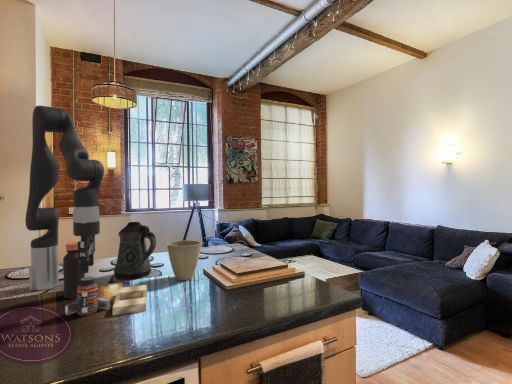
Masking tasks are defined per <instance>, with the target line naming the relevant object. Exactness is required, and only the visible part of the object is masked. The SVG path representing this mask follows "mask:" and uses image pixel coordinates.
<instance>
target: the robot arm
mask: <svg viewBox="0 0 512 384" xmlns="http://www.w3.org/2000/svg"><path fill="white" fill-rule="evenodd" d="M31 122H32V127H31V128H32V129H31V130H32V149H31V161H30V169H29V170H30V171H29V190H28V191H29V192H28V193H29V194H28V198H27V199H28V200H27V206H26V211H25V212H26V213H25V221H24V222H25V226H26V227H25V228H26V229H27V230H28V231H30V232H31V231H34V232H35V231H44V230H47V231H46V233H44V234H43V235H41V236H38V237H36V238H34V239H32V240H31V241H30V266H29V267H28V273H29V274H28V278H29V283H28V287H29V291H45V290H50V289H53V288H57V287H58V286H59V283H60V278H59V222H60V221H59V217H60V215H59V211H58V209H57V208H56V207H51V206H50V207H49V206H48V207H40V204H42V203H41V202H42V201H43V200H44V198H45V197H46V195H48V194H49V193H50V192H51V191H52V189H53V188H54V187H55V186H56V185H57V184H58V182H59V176H60V163H59V161H58V159H57V157H56V156H55V155H54V153H53V152H52V150H51V149H50V147H49V145H48V143H47V140H46V133H59V134H62V135H61V137H60V139H59V141H58V149H59V151H60V153H61V154H62V156H63V158H64V160H65V164H66V165H65V166H66V174H67V176H68V177H69V178H70V179H71V180H73V181H77V182H79V181H80V182H81V181H82V182H83V181H84V182H88V183H87V185H86V186H85V187H81V188H76V189H75V190H74V191H73V211H72V227H73V228H72V229H73V230H72V234H73V236H75V237H80V241H79V240H78V243H77V242H76V243H77V244H78V259H77V260H78V261H79V262H80V273H84V274H88V273H89V271H90V270H89V268H90V267H93V266H94V263H95V262H94V261H95V259H94V258H95V257H94V255H95V251H96V243H95V242H96V238H95V237H96V235H99V234H100V232H101V229H100V228H101V227H100V225H101V223H100V207H99V205H100V204H99V202H100V201H99V194H100V189H101V184H102V183H103V182H102V181H103V178H104V174H105V167H104V165H103V163H102V162H101V161H100V160H97V159H89V157H90V155H89V153H88V151H87V149H86V147H85V146H84V145H83V143H82V142H81V140H80V138H79V136H78V133H77V130H76V128H75V125H74V122H73V120H72V118H71V115H70V114H69V112H68V111H67V110H66V109H64V108H59V107H54V106H46V105H36V106H35V107H34V108H33V111H32V121H31ZM82 255H84V257H82Z"/></svg>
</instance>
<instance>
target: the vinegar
mask: <svg viewBox="0 0 512 384" xmlns="http://www.w3.org/2000/svg"><path fill="white" fill-rule="evenodd" d="M78 242H79V241H78ZM78 242H70V243H66V244H65V250H66V254H65V255H64V257H63V260H62V261H63V265H62V266H63V267H62V268H63V297H64V298H65V299H67V300H68V299H77V288H78V286H79V285H80V284H81V283H80V282H81V279H82V278H84V277H86V276H85V273H80V262H79V261H78V260H77V259H78V244H77V243H78ZM82 257H85V255H82Z"/></svg>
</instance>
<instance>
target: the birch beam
mask: <svg viewBox="0 0 512 384" xmlns="http://www.w3.org/2000/svg"><path fill="white" fill-rule="evenodd" d="M147 285H148V284H142V285H133V286H125V287H118V289H117V294H116V296H115V300H114V302H113V306H112V316H117V315H126V314H133V313H140V312H146V311H147V297H148V296H147V295H148V294H147V293H148V287H147Z"/></svg>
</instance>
